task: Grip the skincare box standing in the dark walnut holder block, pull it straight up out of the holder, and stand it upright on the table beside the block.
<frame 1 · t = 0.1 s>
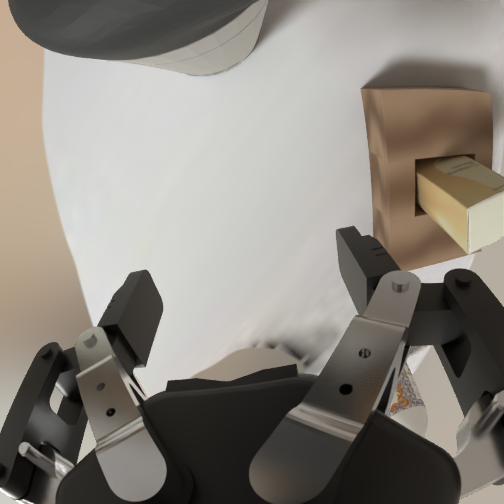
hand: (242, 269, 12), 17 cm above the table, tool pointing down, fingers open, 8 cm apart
walnut holder block: (424, 169, 27), on the table
bath foam: (381, 358, 43), on the table
skincare box: (423, 169, 28), resting in walnut holder block
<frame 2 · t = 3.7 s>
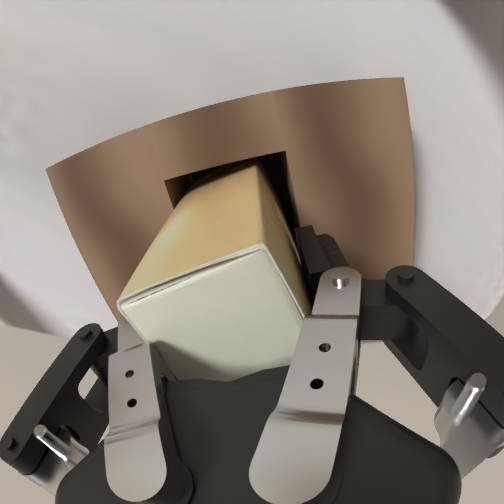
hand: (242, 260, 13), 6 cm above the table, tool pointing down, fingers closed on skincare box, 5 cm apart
walnut holder block: (244, 207, 19), on the table
skincare box: (243, 205, 19), resting in walnut holder block, touching gripper
when the fingers open (8 cm above the table, at t = 9.6 s): skincare box drops 1 cm, on the table.
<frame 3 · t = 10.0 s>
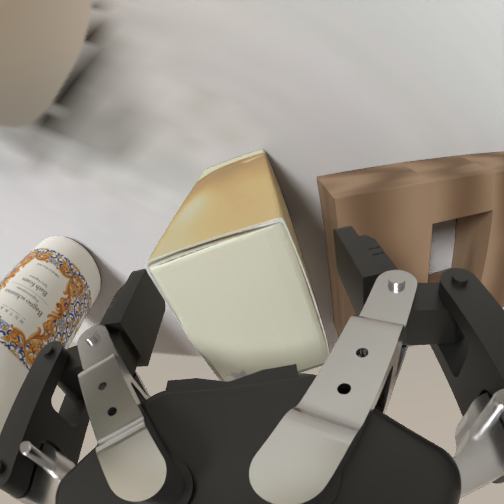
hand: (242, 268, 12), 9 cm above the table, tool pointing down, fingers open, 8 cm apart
walnut holder block: (430, 236, 21), on the table
bath foam: (69, 268, 23), on the table
skincare box: (248, 197, 20), on the table
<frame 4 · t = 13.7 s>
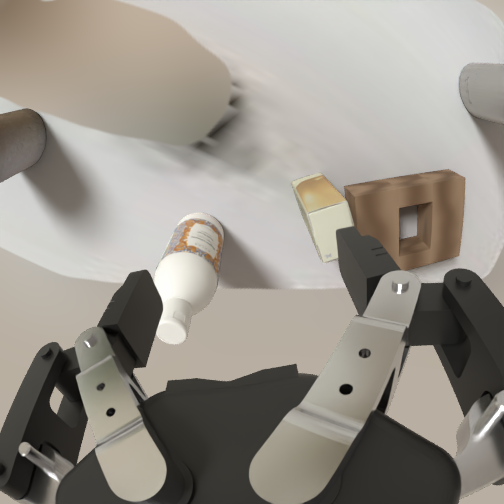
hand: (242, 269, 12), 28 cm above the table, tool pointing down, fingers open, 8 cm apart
walnut holder block: (402, 217, 42), on the table
bath foam: (200, 233, 43), on the table
skincare box: (311, 195, 40), on the table
pillar candle: (26, 138, 34), on the table
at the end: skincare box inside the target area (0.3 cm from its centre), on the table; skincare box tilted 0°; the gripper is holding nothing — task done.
